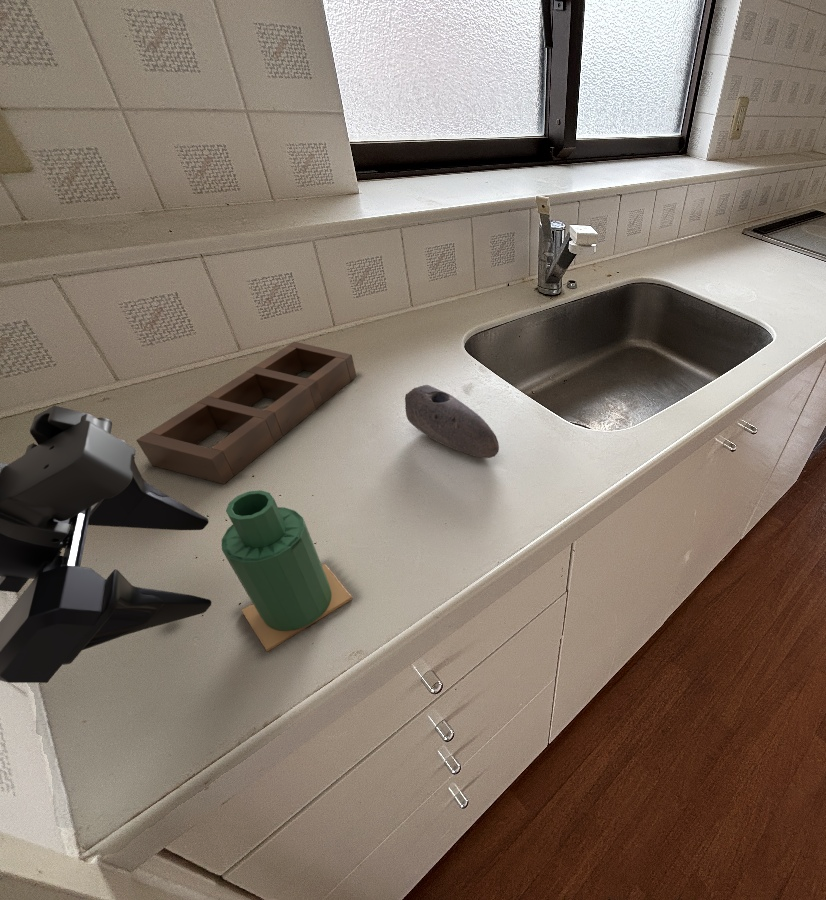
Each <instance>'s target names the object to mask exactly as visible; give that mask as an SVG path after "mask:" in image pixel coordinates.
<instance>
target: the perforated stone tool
mask: <svg viewBox="0 0 826 900" xmlns="http://www.w3.org/2000/svg"><path fill="white" fill-rule="evenodd" d="M404 405H405V406H404V407H405V408H404V409H405V415H406V419H407V421H408V422H409V424H411V425H412V426H413V427H415V428H416V429H417V430H418V431H420V432H421V433H423V434H424V435H426V436H427V437H428V438H430V439H432V440H433V441H436V442H438V443H440V444H442V445H444V446H446V447H449V448H451V449H454V450H456V451H459V452H461V453H464V454H467V455H470V456H472V457H475V458H476V457H477V458H483V459H491V458H494V457H496V455H498V453H499V451H500V444H499V441H498V437H497V436H496V434H495V432H494V431H493V430H492V429H491V427H490V425H489V424H488V423H487V422H486V421H485V420H484V418H482V417H481V416H480V415H479V414H478V413H477V412H475V410H473V409H472V408H470V407H469V406H468V405H466V404H465V403H464V402H462V401H460V400H459V399H457V398H456V397H454V396H453V395H451V394H449V393H447V392H445V391H443V390H440V389H438V388H436V387H434V386H432V385H429V384H423V385H420V386H417V387H414V388H412V389H411V390H409V391H408V392H407V393H405V396H404Z"/></svg>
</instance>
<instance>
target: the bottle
mask: <svg viewBox="0 0 826 900" xmlns="http://www.w3.org/2000/svg"><path fill="white" fill-rule="evenodd" d="M225 512H226V514H227V516H228V518H229V520H230V521H231V525H230V526H229V527H228V528H227V529H226V531H225V532H224V534H223V537H222V538H221V551H222V553H223V554H224V556H225V558H226V560H227V562H228V563H229V565H230V566H231V568H232V570H233V572H234V573H235V575H236V577H237V579H238V581H239V582H240V584H241V586H242V587H243V589H244V591H245V592H246V594H247V596H248V598H249V599H250V601H251V603H252V604H254V606H255V608H256V610H257V611H258V613H259V615H260V616H261V618H262V619H263V620H264V622H265V623H266V624H267V625H268V626H269V627H270V628H273V629H275V630H279V631H291V630H296V629H300V628H302V627H305V626H307V625H309V624H311V623H312V622H314V621H315V620H317V619H318V618H319V617H320V616H321V615H322V614H323V613H324V612H325V611H326V609H327V608H328V606H329V604H330V601H331V595H332V594H331V589H330V586H329V582H328V580H327V577H326V575H325V572H324V570H323V567H322V565H323V564H322V563H321V560H320V558H319V555H318V552H317V549H316V547H315V544H314V541H313V540H312V537H311V535H310V531H309V529H308V527H307V524H306V521H305V519H304V517H303V516H302V514H300V513H299V512H297V510H295V509H291V508H288V507H285V506H279V507H278V504H277V502H276V500H275V498H274V496H273V495H272V494H271V492H269V491H265V490H262V489H260V490H259V489H258V490H250V491H246V492H243V493H241V494H239V495H237V496H235V497H234V498H233V499H232V500H231V501H229V503H228V504H227V506H226V509H225ZM311 625H312V624H311Z"/></svg>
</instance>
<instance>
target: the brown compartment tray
mask: <svg viewBox="0 0 826 900" xmlns="http://www.w3.org/2000/svg"><path fill="white" fill-rule="evenodd" d="M302 371H306V372H311V373H312V374H311V375H309V376H308V377H307V378H305V377H302V376H297V375H298V374H299V373H301V372H302ZM356 377H357V371H356V367H355V363H354V359H353V354H351V353H347V352H343V351H338V350H333V349H329V348H326V347H325V348H324V347H321V346H316V345H313V344H312V345H311V344H308V343H303V342H299V341H293V342H291V343H289V344H288V345H286V346H285V347H283V348H281V349H279V350H278V351H277V352H275V353H273V354H271V355H270V356H269V357H267V358H265V359H264V360H262V361H260V362H259V363H257V364H255V365H254V366H252V367H250V368H249V369H247V370H246V371H245V372H243V373H241V374H239V375H238V376H237V377H235V378H233V379H232V380H230V381H228V382H227V383H225V384H224V385H222V386H221V387H219V388H217V389H215V390H214V391H212V392H211V393H210V394H208V395H206V396H204V397H203V398H201V399H199V400H198V401H197V402H195V403H193V404H191V405H190V406H189V407H187V408H185V409H183V410H182V411H181V412H179V413H177V414H176V415H173V417H171V418H169V419H167V420H166V421H164V422H162V423H161V424H160V425H158V426H156V427H155V428H153V429H152V430H150V431H149V432H147V433H145V434H143V435H142V436H140V437H138V438H137V439H136V442H137V444H138V446H139V447H140V449H141V450H142V452H143V454H144V456H145V457H146V458H147V460H148V462H149V463H150V465H151V466H153V467H158V468H161V469H165V470H169V471H172V472H176V473H179V474H183V475H187V476H191V477H195V478H198V479H203V480H206V481H210V482H214V483H218V484H221V485H225V484H226V483H227V482H228V481H230V480H231V479H232V478H234V476H236V475H237V474H239V473H240V472H241V471H242V470H244V469H245V468H246V467H248V466H249V465H250V463H253V462H254V461H255V460H256V459H257V458H259V457H260V456H261V455H262V454H263V453H264V452H265V451H267V450H268V449H269V448H270V447H272V446H273V445H274V444H275V443H276V442H277V441H279V440H280V439H282V438H283V437H285V435H286V434H288V433H289V432H290V431H291V430H293V429H294V428H295V427H296V426H297V425H299V424H301V422H302V421H304V420H305V419H306V418H307V417H308V416H310V415H312V413H314V412H315V411H316V410H317V409H319V407H321V406H322V405H323V404H325V403H326V402H327V401H329V400H330V399H331V398H332V397H333V396H335V394H336V393H338V392H339V391H340V390H342V389H343V388H344V387H345V386H346V385H348V384H349V383H350V382H351V381H353V380H354V379H355V378H356ZM263 398H268V399H272V400H275V401H274V402H272V403H271V404H270V405H268V406H266V407H265V408H264V409H260V408H257V407H252V406H253V405H255V404H257V403H258V402H259V401H261V400H263ZM218 430H221V431H225V432H229V433H230V434H228V435H227V436H225V437H224V438H223V439H221V440H220V441H218V442H217V443H216V444H214V445H212V447H208V446H207V447H206V446H203V445H199V443H201V442H202V441H204V440H205V439H207V438H208V437H209V436H212V434H213V433H215V432H217V431H218Z"/></svg>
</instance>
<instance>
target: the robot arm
mask: <svg viewBox="0 0 826 900" xmlns="http://www.w3.org/2000/svg"><path fill="white" fill-rule="evenodd" d="M112 428H113V422H112V421H111V420H110V419H109V418H106V417H95V416H94V415H92V414H90V413H87V412H83V411H79V410H74V409H71V408H67V407H62V406H58V405H52V406H50V407H49V408H47V409H45V410H43V411H41V412H39V413H37V414H36V415H34V417H33V420H32V423H31V425H30V429H29V433H30V435H31V437H32V438H33V439H34V441H35V442H36V443H35V442H33V443H31V444H28V445H27V447H26V450H25V453H24V454H23V455H22V456H20V457H18V458H17V459H15V460H13V461H11V462H0V592H10V593H20V591H21V590H22V589H23V587H24V586H25V585H26V584H27V582H28V581H29V580H30V579H31V580H32V581H31V582H30V584H29V585H28V587H27V588H25V590H24V591H23V593H22V594H21V595H20V596H19V598H18V599H17V600H16V601H15V602H14V604H13V605H12V606H11V607H10V609H9V610H8V611H7V613H6V614H5V615H4V616H3V617H2V618H1V620H0V682H5V683H9V684H11V683H12V684H17V683H18V684H24V683H26V684H33V683H34V684H35V683H36V684H37V683H38V684H43V683H44V684H47V683H49V681H50V680H51V679H52V678H53V677H54V675H55V674H56V673H57V672H58V671H59V670H60V669H61V667H62V666H64V665H65V666H66V665H71V664H72V663H73V662H74V661H75V660H76V658H77V657H78V656H80V654H81V653H82V651H85V650H88V649H90V648H93V647H96V646H99V645H101V644H105V643H107V642H110V641H113V640H115V639H118V638H121V637H124V636H127V635H130V634H133V633H137V632H141V631H143V630H147V629H152V628H155V627H159V626H162V625H166V624H169V623H173V622H177V621H180V620H183V619H188V618H191V617H194V616H198V615H202V614H204V613H206V612H207V611H208V609H210V607H211V606H212V600H211V599H209V598H205V597H201V596H196V595H192V594H187V593H179V592H174V591H168V590H167V591H166V590H159V589H154V588H147V587H140V586H135V585H133V584H131V582H130V581H129V580H128V579H127V578H126V577H125V576H124V574H122V573H121V572H120V571H119V570H118V569H113V570H112V572H110V574H109V575H108V576H107V578H104V576H102V575H101V574H99V573H98V572H96V571H95V570H94V569H93V568H92V567H86V566H85V567H84V566H81V565H82V559H83V555H84V548H85V543H86V537H87V533H88V528H89V527H88V526H95V527H96V526H97V527H112V528H113V527H115V528H133V529H149V530H150V529H152V530H167V531H202V530H204V529H205V528H206V527H207V526H208V524H209V518H208V517H206V516H204V515H202V514H201V513H199V512H197V511H196V510H194V509H192V508H190V507H189V506H187V505H185V504H183V503H181V501H178V500H176V499H174V498H173V497H171V496H170V495H167V494H166V493H164V492H163V491H161V490H159V489H158V488H156V487H155V486H153V485H151V484H150V483H149V482H147V481H146V480H145V479H144V478H143V476H142V474H141V472H140V470H139V468H138V466H137V464H136V461H135V458H136V457H135V456H136V449H135V447H133V446H131V445H129V444H128V443H127V442H126V440H124V439H121V438H118V437H117V436H115V435H113V434H112ZM63 549H64V552H63V555H61V554H62V550H63Z"/></svg>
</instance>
